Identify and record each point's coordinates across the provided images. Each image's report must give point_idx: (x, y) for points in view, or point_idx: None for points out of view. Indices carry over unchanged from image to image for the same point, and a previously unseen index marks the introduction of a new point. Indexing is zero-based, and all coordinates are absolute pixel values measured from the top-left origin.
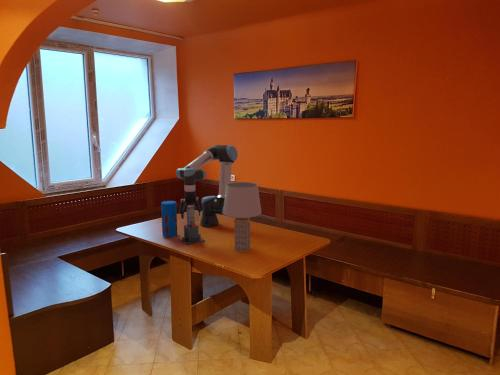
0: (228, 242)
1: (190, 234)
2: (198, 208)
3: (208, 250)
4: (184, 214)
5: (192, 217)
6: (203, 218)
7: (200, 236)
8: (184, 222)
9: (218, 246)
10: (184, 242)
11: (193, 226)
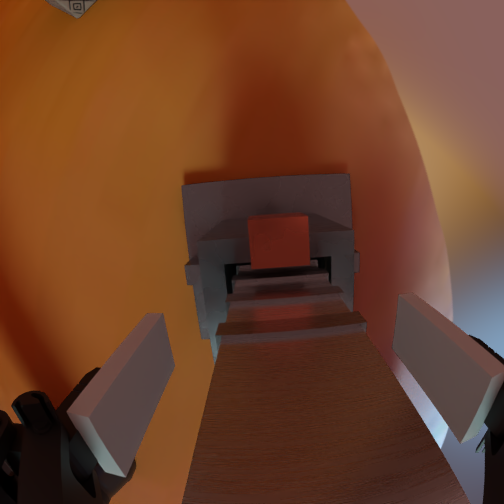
0: (68, 102)
1: (308, 220)
2: (29, 485)
3: (245, 7)
4: (495, 370)
5: (283, 332)
6: (108, 477)
7: (190, 261)
8: (414, 298)
9: (152, 46)
10: (351, 213)
11: (285, 213)
